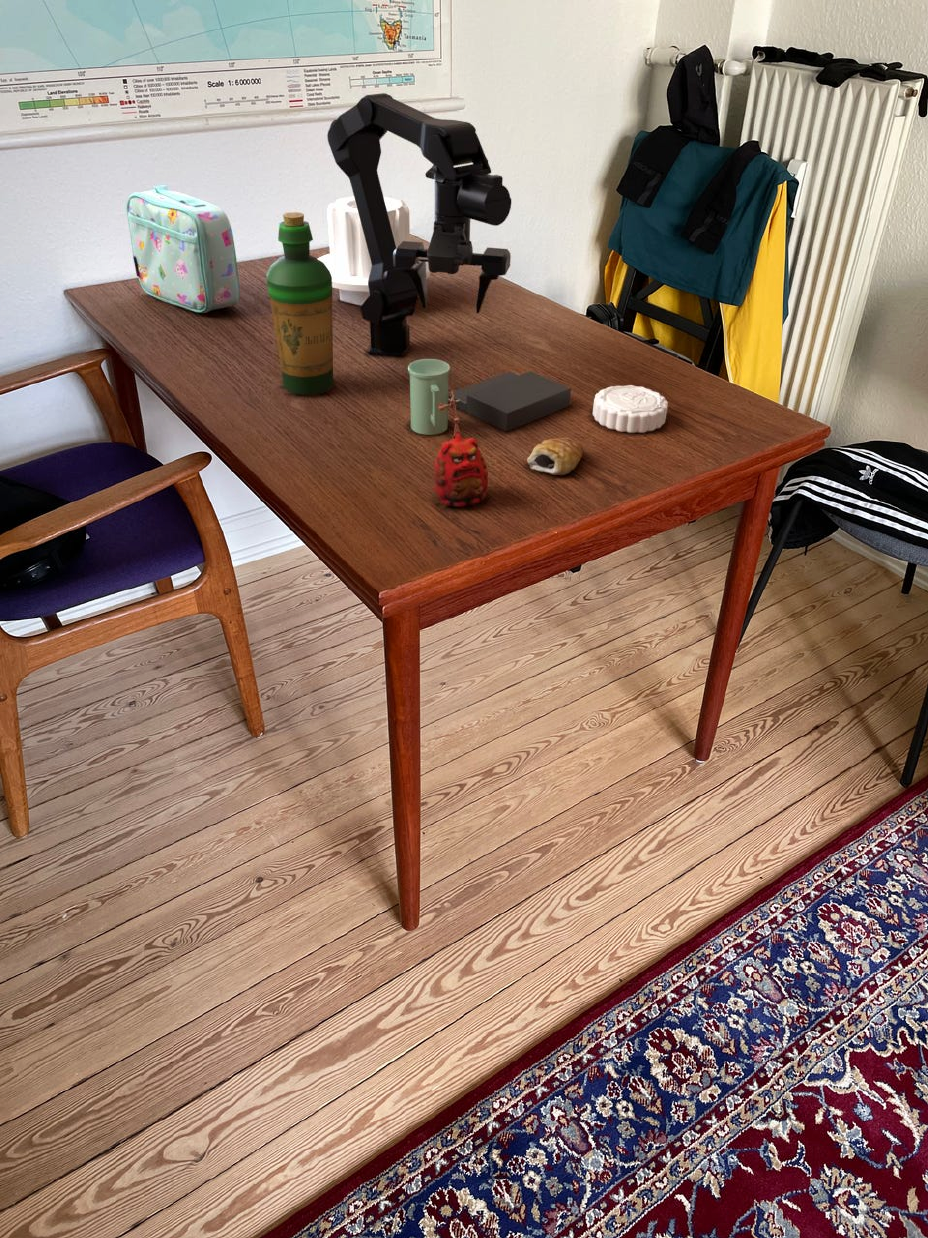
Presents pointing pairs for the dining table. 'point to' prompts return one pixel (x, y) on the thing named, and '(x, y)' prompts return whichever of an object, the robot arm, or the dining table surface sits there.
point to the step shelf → (512, 399)
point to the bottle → (301, 310)
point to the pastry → (556, 456)
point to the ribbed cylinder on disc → (358, 246)
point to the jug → (428, 396)
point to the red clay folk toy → (460, 468)
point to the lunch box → (183, 250)
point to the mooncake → (630, 409)
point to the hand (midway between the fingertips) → (451, 310)
